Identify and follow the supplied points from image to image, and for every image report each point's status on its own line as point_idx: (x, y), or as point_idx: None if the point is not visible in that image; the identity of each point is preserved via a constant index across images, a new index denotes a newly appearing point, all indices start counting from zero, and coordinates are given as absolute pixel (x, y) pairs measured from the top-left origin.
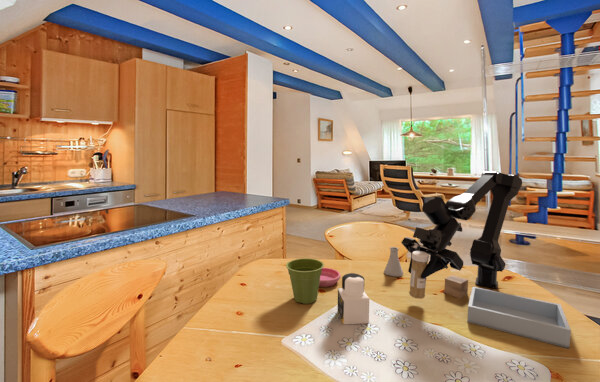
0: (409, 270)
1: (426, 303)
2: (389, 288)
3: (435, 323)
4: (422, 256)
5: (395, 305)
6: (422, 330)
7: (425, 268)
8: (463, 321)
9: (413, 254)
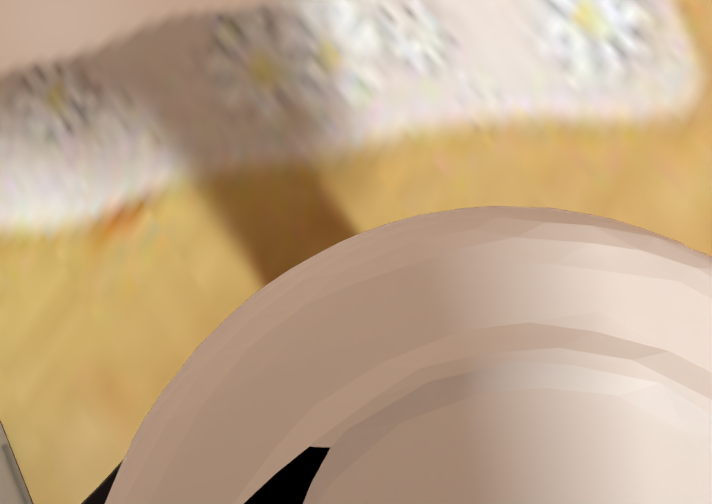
0: None
1: None
2: None
3: (126, 218)
4: (193, 381)
5: (430, 194)
6: (127, 79)
7: None
8: (22, 407)
9: (659, 236)
